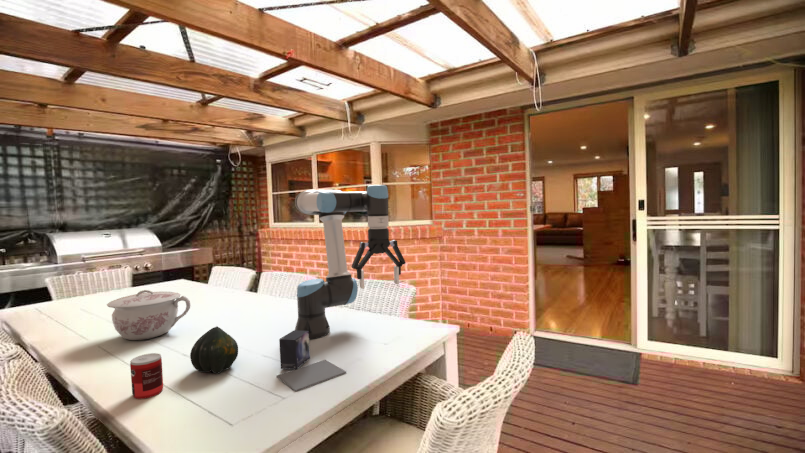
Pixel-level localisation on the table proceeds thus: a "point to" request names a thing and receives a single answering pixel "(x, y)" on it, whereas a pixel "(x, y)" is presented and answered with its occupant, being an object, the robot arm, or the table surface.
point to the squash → (214, 351)
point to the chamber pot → (146, 314)
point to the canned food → (146, 375)
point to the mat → (310, 375)
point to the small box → (294, 349)
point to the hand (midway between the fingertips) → (379, 285)
